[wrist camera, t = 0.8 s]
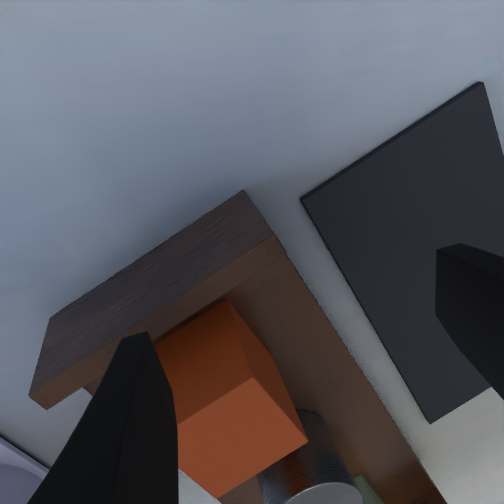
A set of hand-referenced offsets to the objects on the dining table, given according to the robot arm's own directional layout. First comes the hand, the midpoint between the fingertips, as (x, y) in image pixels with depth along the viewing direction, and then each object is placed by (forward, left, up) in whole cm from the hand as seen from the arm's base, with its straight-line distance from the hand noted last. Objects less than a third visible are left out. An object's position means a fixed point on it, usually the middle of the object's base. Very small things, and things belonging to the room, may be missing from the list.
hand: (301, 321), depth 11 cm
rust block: (-5, -6, -8) cm, 11 cm away
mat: (+8, -13, -11) cm, 18 cm away
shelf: (-5, -14, -11) cm, 18 cm away
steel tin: (-5, -14, -8) cm, 17 cm away
